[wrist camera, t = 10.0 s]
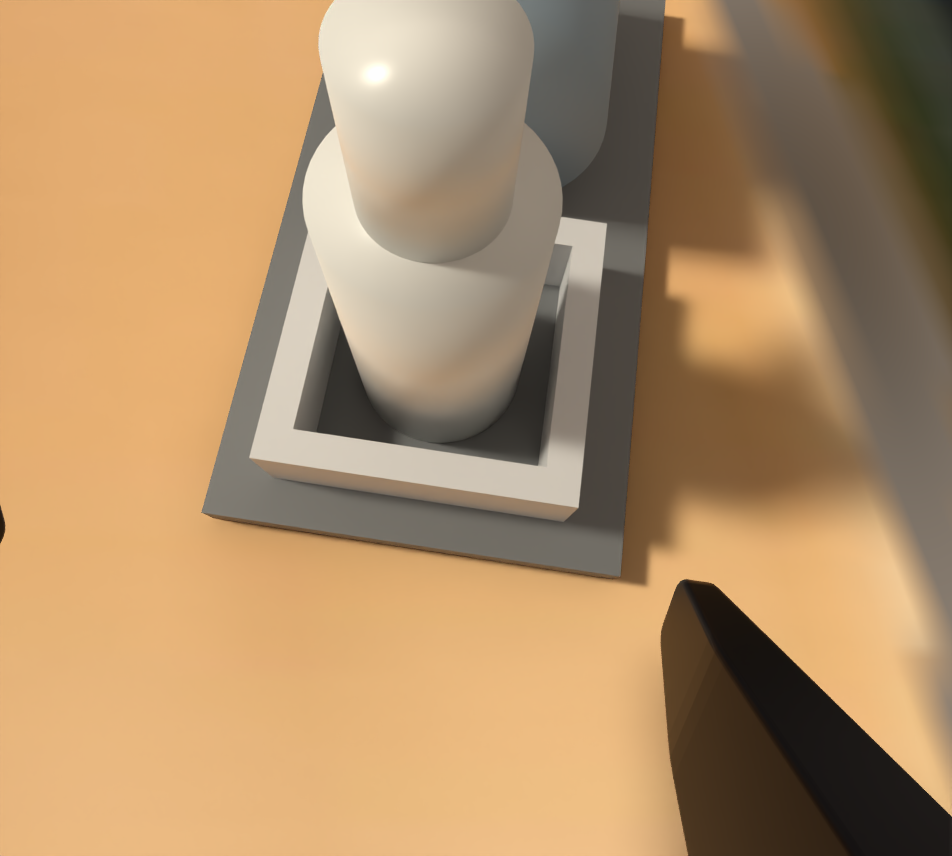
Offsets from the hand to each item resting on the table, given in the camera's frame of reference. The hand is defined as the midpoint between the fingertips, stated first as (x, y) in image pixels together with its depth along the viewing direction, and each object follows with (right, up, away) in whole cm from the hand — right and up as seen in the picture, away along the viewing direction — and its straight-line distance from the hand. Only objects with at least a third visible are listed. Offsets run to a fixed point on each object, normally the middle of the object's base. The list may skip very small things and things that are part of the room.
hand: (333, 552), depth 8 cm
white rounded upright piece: (+1, +4, +13) cm, 14 cm away
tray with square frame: (+2, +9, +16) cm, 18 cm away
